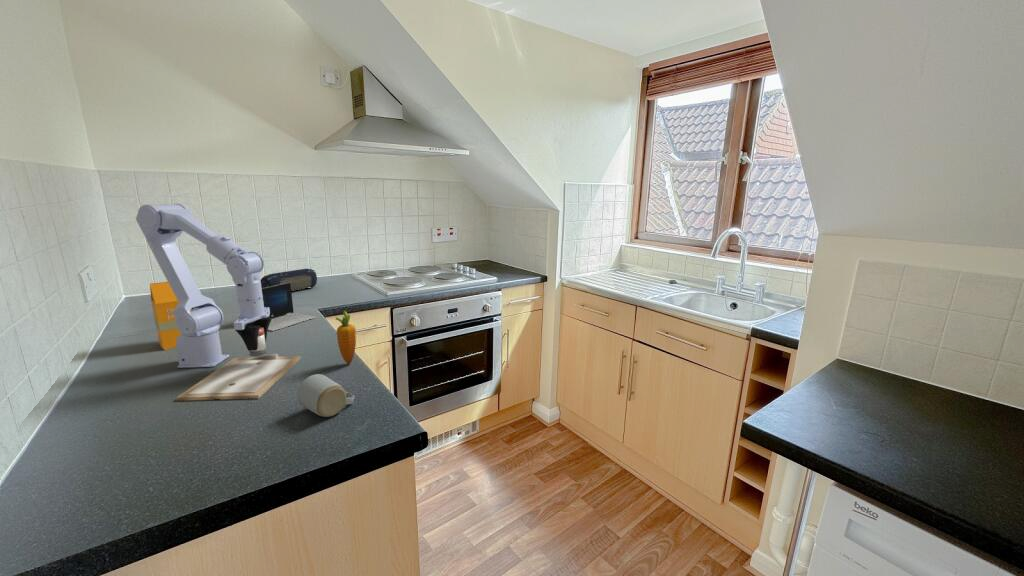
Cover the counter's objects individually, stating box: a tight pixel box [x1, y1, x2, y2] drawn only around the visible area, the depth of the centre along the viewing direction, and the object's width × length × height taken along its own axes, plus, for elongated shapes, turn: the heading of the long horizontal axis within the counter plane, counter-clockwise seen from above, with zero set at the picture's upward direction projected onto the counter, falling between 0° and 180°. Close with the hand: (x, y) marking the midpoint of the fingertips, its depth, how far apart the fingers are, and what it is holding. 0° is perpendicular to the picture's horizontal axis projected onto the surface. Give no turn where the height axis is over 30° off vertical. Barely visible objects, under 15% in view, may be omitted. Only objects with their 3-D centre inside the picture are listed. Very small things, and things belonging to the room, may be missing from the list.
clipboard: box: [176, 353, 302, 402], centre depth 109 cm, size 18×24×2 cm
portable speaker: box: [260, 268, 318, 291], centre depth 201 cm, size 25×10×10 cm, turn 146°
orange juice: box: [149, 281, 194, 351], centre depth 131 cm, size 8×9×20 cm
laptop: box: [262, 282, 317, 332], centre depth 154 cm, size 18×12×13 cm
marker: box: [248, 327, 268, 357], centre depth 115 cm, size 4×4×7 cm
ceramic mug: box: [296, 373, 355, 418], centre depth 93 cm, size 11×8×8 cm
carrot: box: [335, 311, 357, 365], centre depth 116 cm, size 5×5×15 cm
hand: (257, 347), depth 115 cm, fingers closed on marker, 4 cm apart
